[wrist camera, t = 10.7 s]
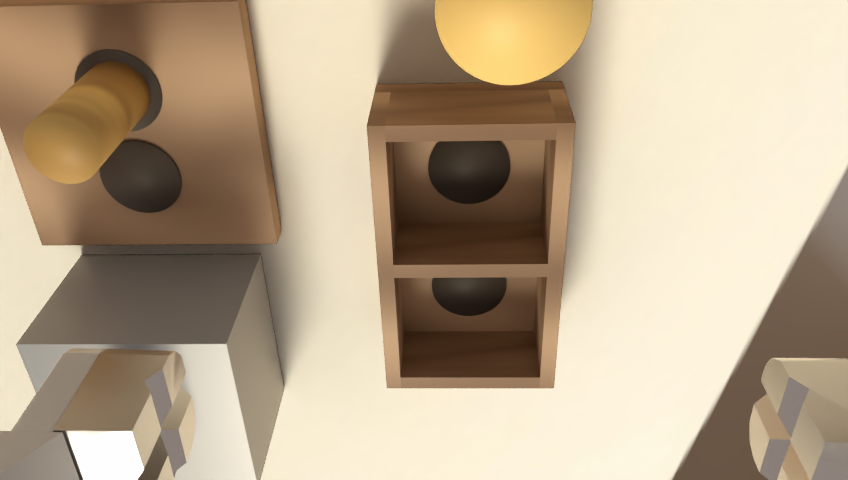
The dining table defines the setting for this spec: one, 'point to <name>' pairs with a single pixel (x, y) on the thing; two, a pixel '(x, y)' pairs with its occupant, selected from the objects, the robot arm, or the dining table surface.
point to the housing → (178, 343)
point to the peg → (512, 36)
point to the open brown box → (470, 230)
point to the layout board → (184, 129)
